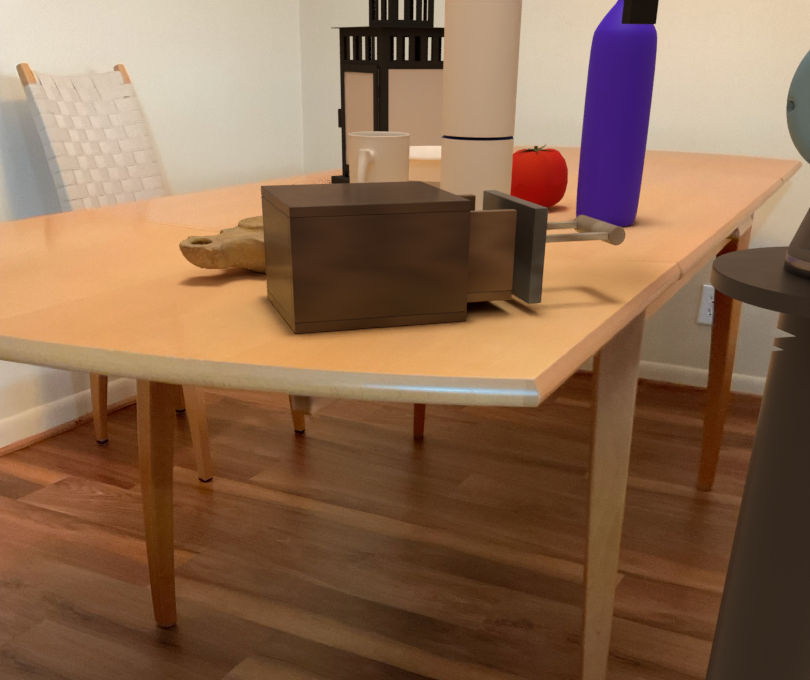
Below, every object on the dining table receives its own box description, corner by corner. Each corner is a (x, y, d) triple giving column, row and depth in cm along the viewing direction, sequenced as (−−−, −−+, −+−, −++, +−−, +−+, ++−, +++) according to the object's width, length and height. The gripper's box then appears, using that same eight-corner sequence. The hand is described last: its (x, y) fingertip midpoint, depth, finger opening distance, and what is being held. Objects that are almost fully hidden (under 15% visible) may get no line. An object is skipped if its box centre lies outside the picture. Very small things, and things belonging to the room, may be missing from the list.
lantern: (331, 183, 156) (324, -61, 140) (418, 177, 164) (422, -55, 147) (378, 195, 143) (377, -72, 127) (471, 189, 151) (481, -64, 134)
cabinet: (419, 288, 87) (420, 180, 83) (466, 321, 77) (471, 200, 72) (267, 297, 83) (260, 185, 79) (295, 333, 73) (289, 206, 68)
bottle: (638, 228, 118) (671, -46, 104) (573, 226, 120) (597, -45, 105) (635, 218, 126) (666, -39, 111) (574, 216, 127) (597, -39, 113)
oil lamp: (175, 283, 88) (169, 229, 86) (238, 256, 100) (235, 207, 98) (277, 291, 85) (274, 236, 83) (330, 262, 98) (328, 213, 95)
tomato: (561, 203, 138) (566, 143, 134) (571, 214, 129) (576, 149, 125) (499, 202, 138) (502, 142, 134) (504, 213, 129) (508, 148, 125)
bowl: (474, 209, 132) (477, 145, 128) (514, 227, 118) (519, 156, 114) (366, 212, 128) (366, 146, 124) (395, 231, 114) (395, 158, 110)
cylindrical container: (434, 272, 94) (441, -13, 82) (441, 258, 100) (449, -8, 88) (504, 275, 93) (521, -12, 81) (507, 261, 99) (523, -8, 87)
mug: (361, 240, 109) (360, 130, 103) (415, 244, 107) (417, 132, 102) (331, 256, 100) (327, 137, 95) (388, 260, 99) (389, 139, 93)
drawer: (572, 270, 91) (580, 187, 87) (631, 296, 81) (643, 204, 78) (355, 283, 85) (354, 194, 81) (391, 313, 75) (391, 214, 71)
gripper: (595, -297, 77) (569, 24, 88) (681, -355, 66) (639, 21, 77) (673, -288, 79) (638, 26, 90) (769, -342, 68) (715, 23, 79)
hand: (638, 23), depth 84 cm, fingers closed
